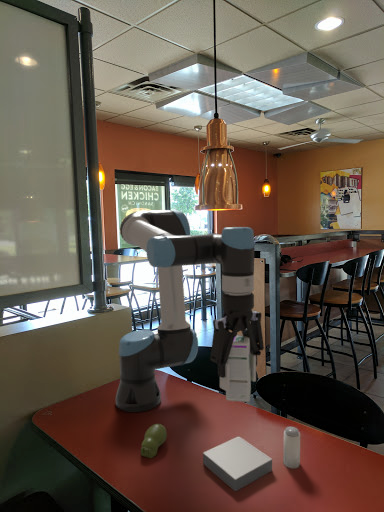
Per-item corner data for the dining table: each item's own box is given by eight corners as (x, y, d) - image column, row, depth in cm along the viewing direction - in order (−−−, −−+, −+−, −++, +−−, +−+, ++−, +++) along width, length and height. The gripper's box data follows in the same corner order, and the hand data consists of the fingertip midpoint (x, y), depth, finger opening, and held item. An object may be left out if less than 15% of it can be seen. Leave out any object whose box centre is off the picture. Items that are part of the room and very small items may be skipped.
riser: (203, 463, 95) (203, 452, 95) (238, 446, 102) (238, 436, 102) (235, 491, 86) (235, 479, 85) (272, 470, 92) (272, 458, 92)
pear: (169, 421, 105) (153, 448, 96) (170, 437, 106) (155, 465, 97) (151, 418, 107) (134, 443, 98) (153, 433, 108) (136, 460, 99)
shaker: (280, 462, 96) (280, 429, 95) (290, 456, 98) (290, 423, 97) (292, 470, 92) (293, 436, 91) (303, 464, 95) (303, 431, 94)
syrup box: (250, 402, 89) (249, 343, 87) (225, 400, 90) (224, 341, 89) (250, 391, 95) (250, 335, 93) (227, 389, 96) (226, 334, 94)
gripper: (214, 301, 81) (215, 402, 83) (279, 289, 93) (278, 378, 95) (193, 295, 87) (194, 390, 89) (257, 284, 99) (257, 368, 101)
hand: (238, 384), depth 92 cm, fingers closed on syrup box, 8 cm apart
